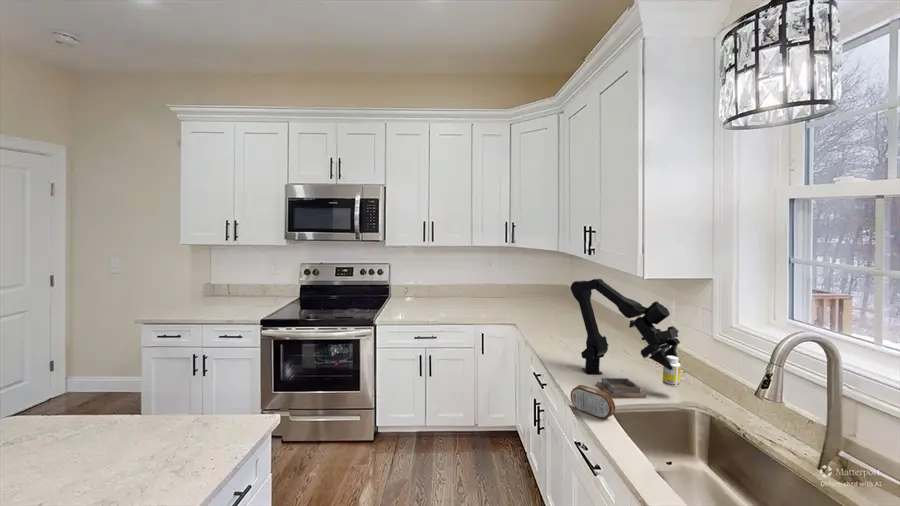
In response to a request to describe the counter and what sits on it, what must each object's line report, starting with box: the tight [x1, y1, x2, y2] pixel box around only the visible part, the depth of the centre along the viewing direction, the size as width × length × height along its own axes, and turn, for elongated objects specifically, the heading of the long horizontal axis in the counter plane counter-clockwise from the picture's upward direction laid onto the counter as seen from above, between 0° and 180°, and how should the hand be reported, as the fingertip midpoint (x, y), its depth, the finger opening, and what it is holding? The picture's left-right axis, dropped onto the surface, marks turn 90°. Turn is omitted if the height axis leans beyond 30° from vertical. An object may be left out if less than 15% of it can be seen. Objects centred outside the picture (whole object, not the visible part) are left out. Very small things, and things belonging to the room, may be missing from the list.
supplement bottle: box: [662, 356, 681, 388], centre depth 161 cm, size 6×6×10 cm
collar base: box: [595, 377, 647, 399], centre depth 166 cm, size 13×13×3 cm
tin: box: [570, 384, 616, 420], centre depth 145 cm, size 15×3×8 cm, turn 42°
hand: (675, 367), depth 159 cm, fingers closed on supplement bottle, 6 cm apart
